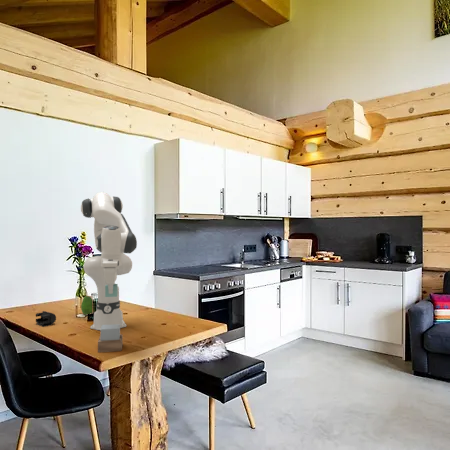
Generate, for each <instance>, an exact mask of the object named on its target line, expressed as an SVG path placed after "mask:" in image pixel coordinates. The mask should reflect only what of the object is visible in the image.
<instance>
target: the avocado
mask: <svg viewBox="0 0 450 450" xmlns="http://www.w3.org/2000/svg"><path fill="white" fill-rule="evenodd" d="M92 300H93V299H92V297H91V296H90V295H85V296H84V297H83V299H82V302H81V305H80V308H81V312H82V314H83V315H86V316H88V315H87V314H89V315H91V314H93V312H92ZM90 313H91V314H90Z"/></svg>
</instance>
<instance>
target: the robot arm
mask: <svg viewBox="0 0 450 450" xmlns="http://www.w3.org/2000/svg"><path fill="white" fill-rule="evenodd" d="M123 207H124V206H123V202H122V200H121V198H120V197H119V196H111V195H109V194H108V193H106V192H104V191H103V192H102V191H100V192H97V193H95V194H94V196H93V198H85V199H83V200H82V202H81V204H80V212H81V214H82V215H83V217H84V218H89V219H90V218H94V223H93V234H94V242H95V243H94V244H95V248H96V250H97V251H98V252H100V253H101V254H100V255H96V256H91V257H87V258H86V260H85V261H84V263H83V271H84V273H85V274H86V276H88V277H89V278H91V279H92V281H93V282H94V283H95V286H96V288H97V301H96V311H94V312H93V324H92V325H90V328H89V329H90V330H91V329H93V330H95V331H101V327H102V325H113V324H120V329H122V328H126V327H127V324H126V322H125V321H124V317H123V311H122V310H121V301H120V287H119V286H118V295H117V297H105V285H108V289H109V294H112V293H113V285H114V284H116V283H115V282H116V280H117V278H118V276H123V275H126V274H129V273H130V272H131V271H132V269H133V261H132V259H131V258H130V256H128V255H126V254H132V253H133V252H134V251H135V250H137V246H138V243H137V242H138V241H137V237H136V235H135V233H134V232H133V231H132V229H131V228H130V226H129V224H128V221H127V220H126V218H125V216H124V214H123V213H122V212H123Z"/></svg>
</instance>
